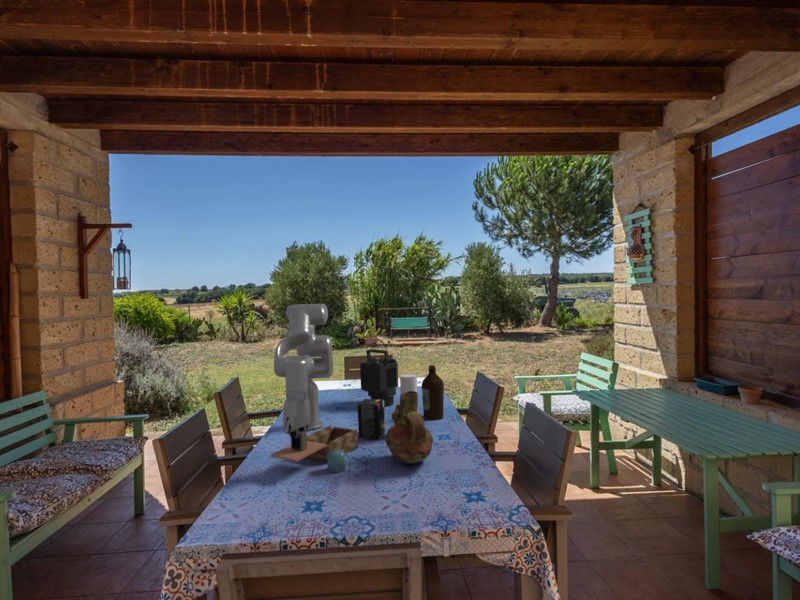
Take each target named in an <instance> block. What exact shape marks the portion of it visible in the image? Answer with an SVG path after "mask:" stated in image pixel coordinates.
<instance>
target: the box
mask: <svg viewBox="0 0 800 600" xmlns="http://www.w3.org/2000/svg"><path fill="white" fill-rule="evenodd" d="M307 441H310V442H317V443H323V444H326V447H324V448H322V449H320V450H318V451H316V452H314V453H312V454H310V455H308V456H306V457H304V458H303V459H305V458H306V460H310V459H311V461H317V462H320V463H321V462H322V463H327V464H328V457H327V453H328V452H329V451H331V450H336V449H340V450H344V451H345V456H346V455H347V454H349V453H351V452H353V451H354V450H356V449H358V448H359V431H358V428H355V429H353V428H345V427H339V426H334V427H332V425H331V424H330V425H328V426H325V427H324V428H321V429H319V430H317V431H315V432H312V433H310V434H309V435H308V434H307Z"/></svg>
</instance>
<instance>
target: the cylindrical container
mask: <svg viewBox="0 0 800 600" xmlns="http://www.w3.org/2000/svg"><path fill="white" fill-rule="evenodd" d="M417 377H418V376H417V374H413V373H412V374H411V373H407V374H401V375H399V382H400V383H399V385H400V391H399V392H400V394H401V393H405V392H409V391H415V392H417V393H418V378H417ZM417 411H418V412H419V409H418V410H417Z"/></svg>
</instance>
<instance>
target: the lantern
mask: <svg viewBox="0 0 800 600" xmlns="http://www.w3.org/2000/svg"><path fill="white" fill-rule="evenodd" d="M365 352H366V353H365V354H366V359H367V360H366V361H364V362H360V364H359V368H360V369H359V371H360V389H361V390H362V391H363V392H367V395H368V397H370V399H384V408H389V407H392V406H393V404H394V403H395V401H394V400H395V399H394V398H395V397H394V396H396V395H397V388H399V363H398V361H397V359H395V358H390V357H389V351H388V350H386V349H372V348H371V349H367V350H366V351H365ZM371 353H372V354H373V353H374V354H383V355H384V358H383V357H372V356H371V355H372V354H371ZM391 405H392V406H391ZM388 406H389V407H388Z"/></svg>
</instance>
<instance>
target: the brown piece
mask: <svg viewBox="0 0 800 600" xmlns="http://www.w3.org/2000/svg"><path fill="white" fill-rule="evenodd" d="M294 432H295V431H294ZM307 432H308V431H307ZM307 432H303V431H298V435H299V436H298V437H300V449H293V448H292V437H290V445H289V446H287V447H284V448H282V449H280V450H278V451H276V452H274V453H271V454H270V458H274V459H280V460H284V461H291V462H295V463H296V462H299V461H301V460H303V459H305V458H304V457H306V456H308V455H310V454H312V453H314V452H316V451H318V450H320V449H322V448H324V447H326V444H323V443H317V442H310V441H307V436H308V434H307Z"/></svg>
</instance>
